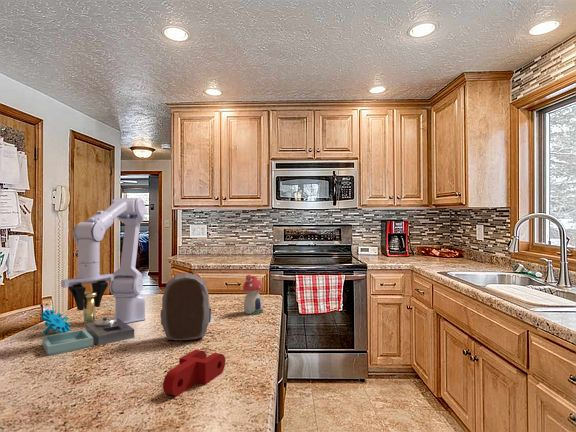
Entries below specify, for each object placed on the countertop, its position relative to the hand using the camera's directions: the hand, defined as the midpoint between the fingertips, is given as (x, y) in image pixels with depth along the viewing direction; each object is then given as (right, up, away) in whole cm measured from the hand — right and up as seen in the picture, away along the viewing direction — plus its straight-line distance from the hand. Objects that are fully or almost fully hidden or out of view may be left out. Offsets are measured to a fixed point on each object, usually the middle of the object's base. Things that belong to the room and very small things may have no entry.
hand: (88, 308), depth 109 cm
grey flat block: (+3, -10, +7) cm, 12 cm away
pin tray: (-4, -10, -3) cm, 11 cm away
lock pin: (0, -4, 0) cm, 4 cm away
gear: (-15, -10, +9) cm, 20 cm away
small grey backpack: (+28, -10, +3) cm, 30 cm away
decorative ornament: (+46, -10, +33) cm, 57 cm away
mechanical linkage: (+38, -10, -27) cm, 48 cm away
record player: (+26, -11, +25) cm, 37 cm away
